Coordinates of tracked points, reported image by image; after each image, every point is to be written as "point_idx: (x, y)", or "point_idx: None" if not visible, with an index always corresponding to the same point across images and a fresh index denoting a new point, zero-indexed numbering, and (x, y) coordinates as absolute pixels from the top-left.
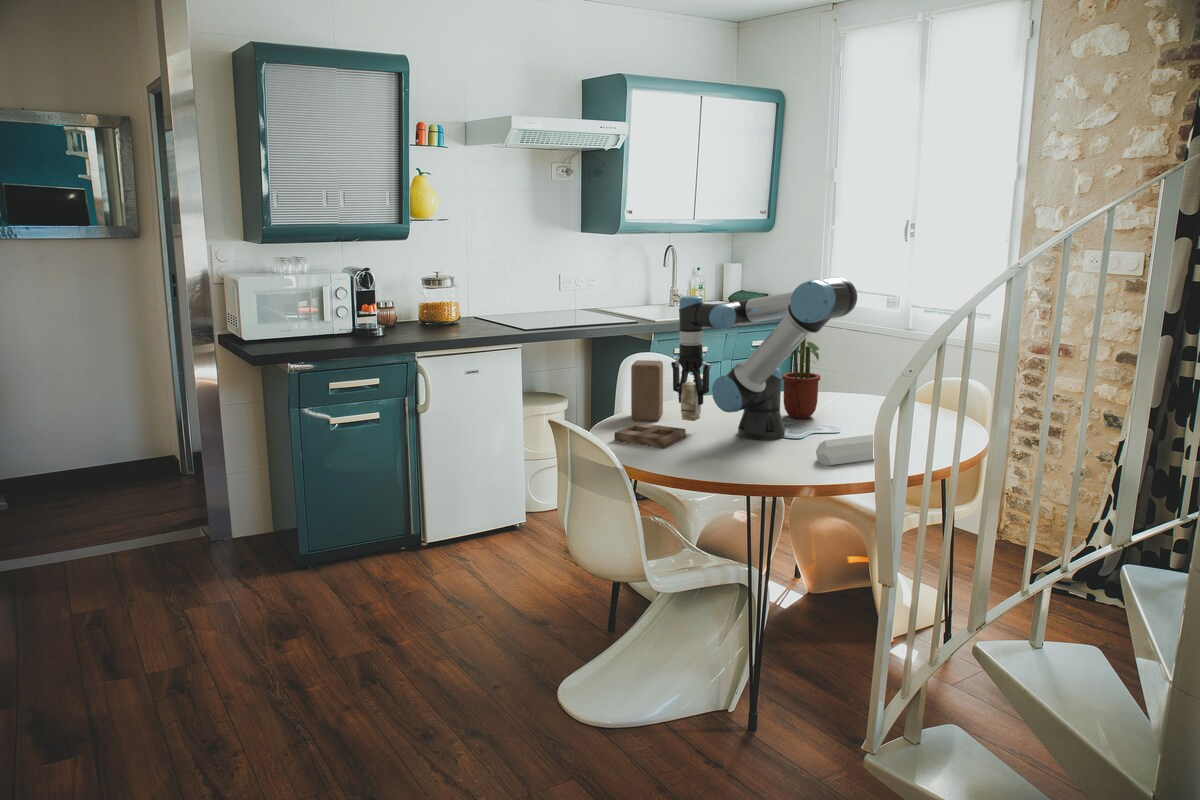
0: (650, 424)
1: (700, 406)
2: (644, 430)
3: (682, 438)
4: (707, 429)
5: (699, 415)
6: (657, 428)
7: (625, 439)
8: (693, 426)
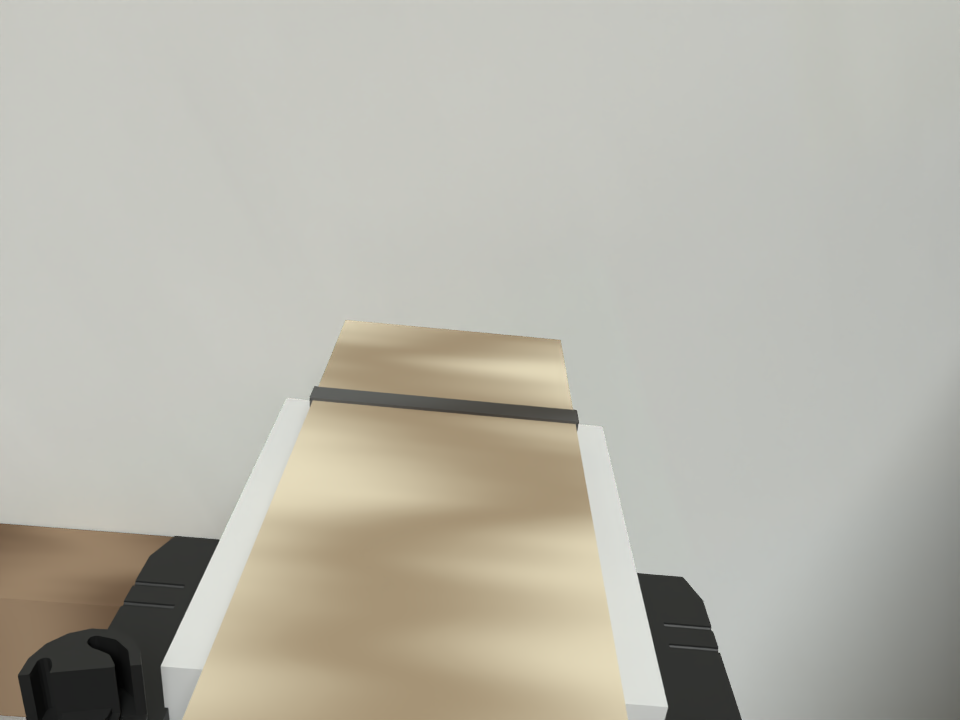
0: (11, 605)
1: (618, 519)
2: None
3: None
4: (611, 106)
5: (562, 371)
6: None
7: None
8: (360, 10)
